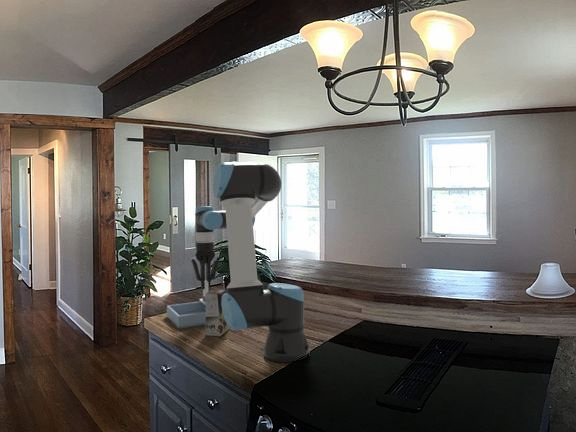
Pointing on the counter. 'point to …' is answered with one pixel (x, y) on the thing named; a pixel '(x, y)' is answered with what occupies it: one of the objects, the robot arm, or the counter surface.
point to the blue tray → (187, 314)
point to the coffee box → (215, 313)
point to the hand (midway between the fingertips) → (205, 296)
